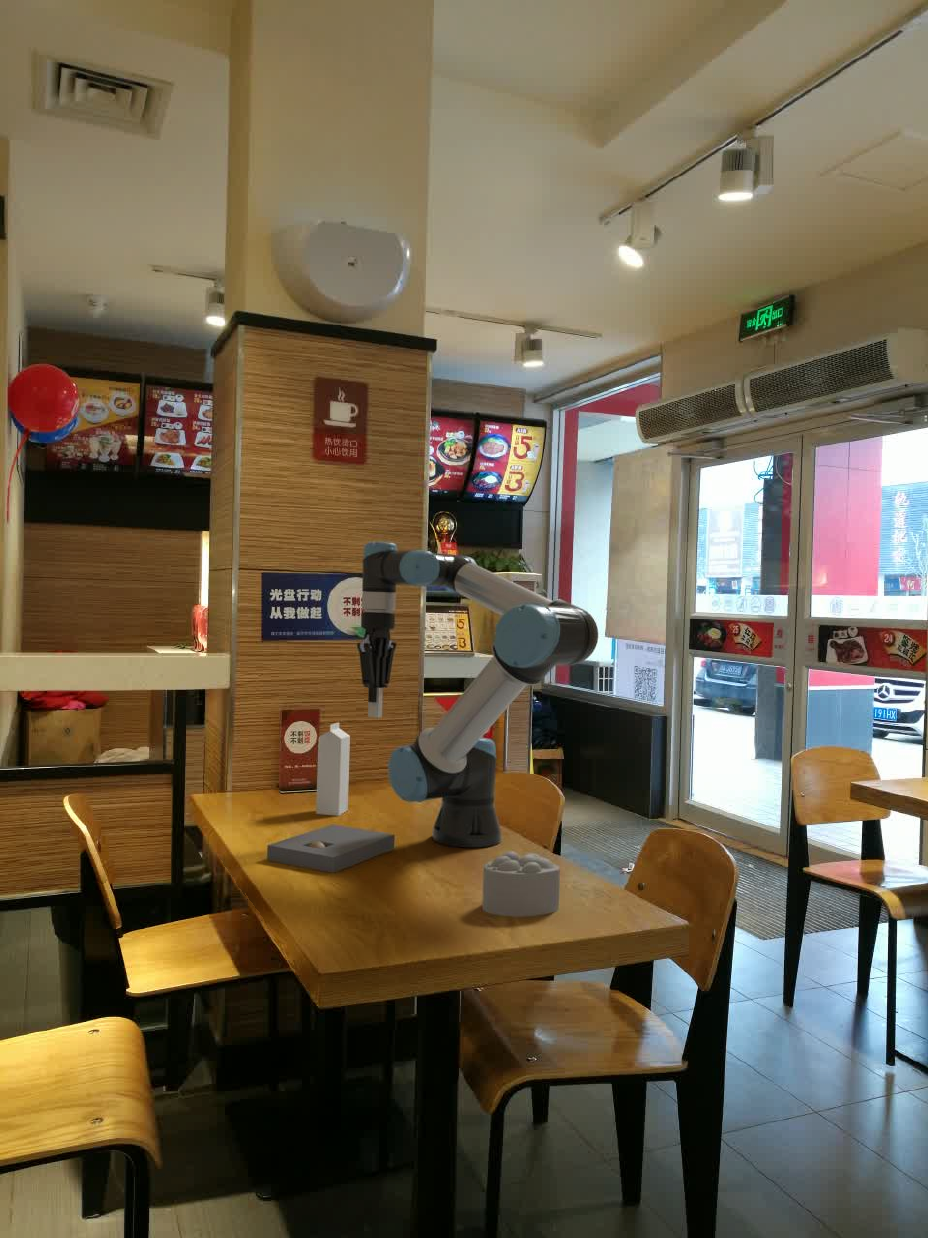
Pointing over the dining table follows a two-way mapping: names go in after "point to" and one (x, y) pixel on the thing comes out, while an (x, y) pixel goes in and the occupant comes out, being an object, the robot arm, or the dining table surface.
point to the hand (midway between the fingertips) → (374, 716)
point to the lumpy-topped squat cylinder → (520, 885)
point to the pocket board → (331, 848)
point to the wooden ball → (317, 845)
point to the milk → (333, 772)
